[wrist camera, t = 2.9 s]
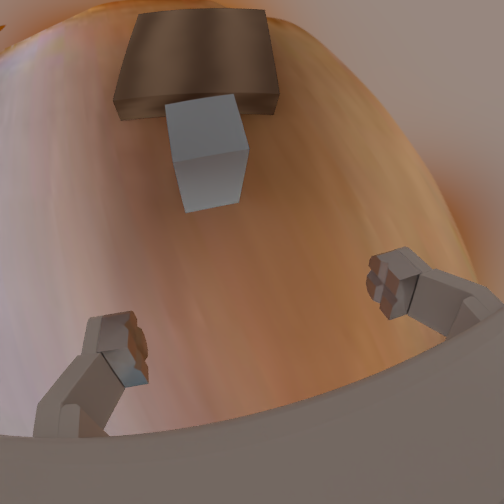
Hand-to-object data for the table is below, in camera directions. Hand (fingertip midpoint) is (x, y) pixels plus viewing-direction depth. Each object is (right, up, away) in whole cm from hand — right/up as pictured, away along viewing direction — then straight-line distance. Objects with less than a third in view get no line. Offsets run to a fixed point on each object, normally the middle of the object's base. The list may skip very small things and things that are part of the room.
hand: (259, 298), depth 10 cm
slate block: (-4, +7, +14) cm, 16 cm away
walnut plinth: (-6, +21, +17) cm, 27 cm away
